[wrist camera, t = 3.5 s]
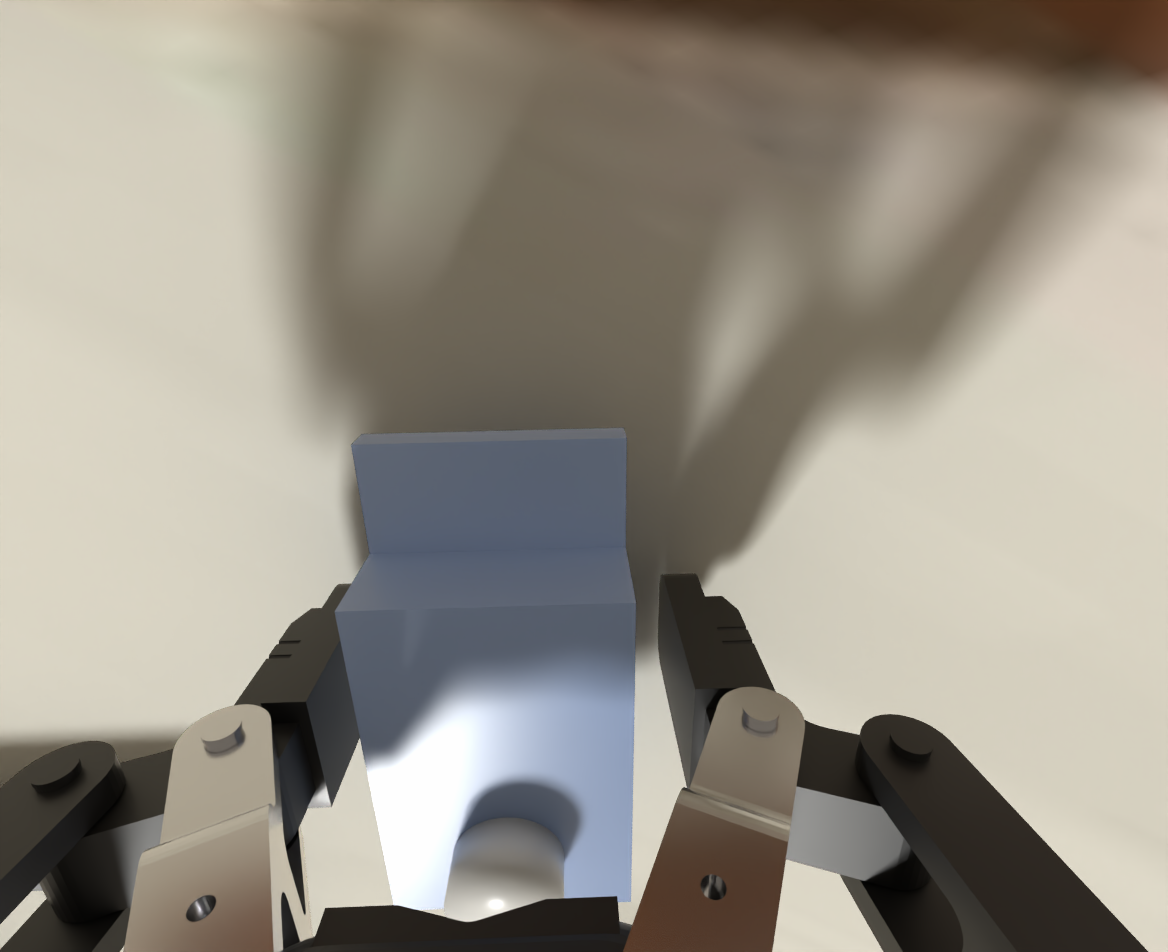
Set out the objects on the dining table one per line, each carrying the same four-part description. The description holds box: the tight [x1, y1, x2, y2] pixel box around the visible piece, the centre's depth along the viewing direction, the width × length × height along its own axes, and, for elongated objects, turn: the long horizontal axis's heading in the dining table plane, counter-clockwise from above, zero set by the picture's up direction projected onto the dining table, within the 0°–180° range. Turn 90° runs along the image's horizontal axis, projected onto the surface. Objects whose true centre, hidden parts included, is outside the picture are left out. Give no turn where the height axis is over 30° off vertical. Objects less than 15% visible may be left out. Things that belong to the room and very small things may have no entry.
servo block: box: [335, 428, 636, 922], centre depth 11 cm, size 4×10×6 cm, turn 1°
